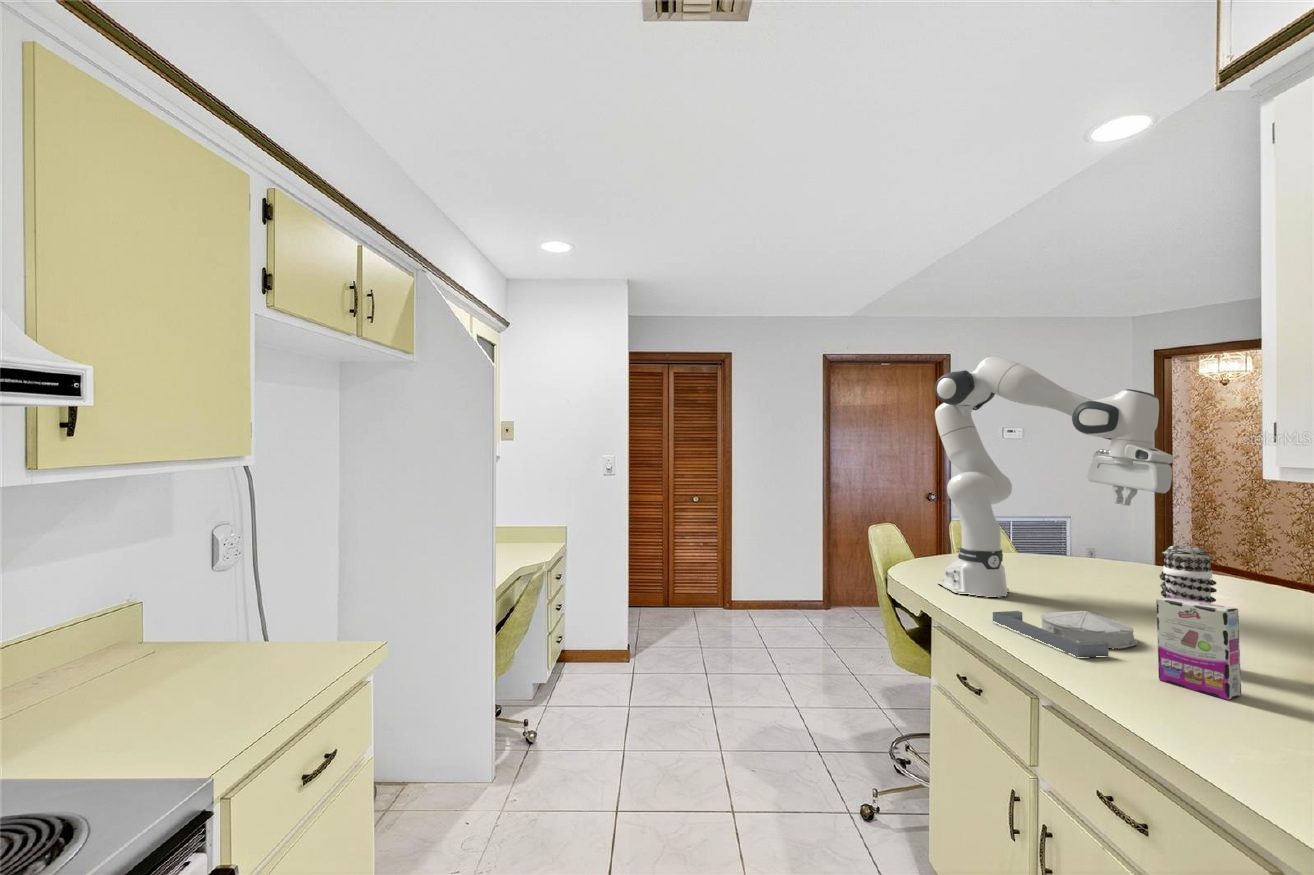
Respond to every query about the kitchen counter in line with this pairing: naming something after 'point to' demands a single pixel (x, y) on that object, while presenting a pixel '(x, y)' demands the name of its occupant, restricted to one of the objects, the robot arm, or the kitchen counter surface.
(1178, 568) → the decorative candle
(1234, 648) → the candy bar box
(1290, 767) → the kitchen counter surface
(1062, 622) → the food container
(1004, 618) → the gray u-shaped pull
